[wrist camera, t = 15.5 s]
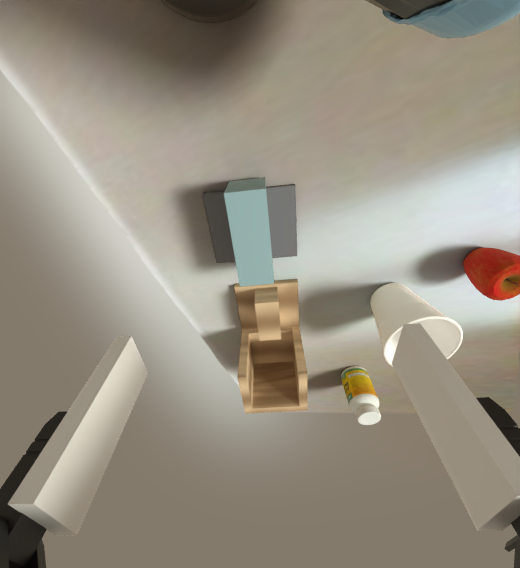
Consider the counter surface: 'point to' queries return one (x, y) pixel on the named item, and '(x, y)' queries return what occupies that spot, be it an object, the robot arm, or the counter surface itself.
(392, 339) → the cup
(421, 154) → the counter surface
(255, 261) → the bar
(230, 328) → the counter surface
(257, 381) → the cradle
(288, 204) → the mat
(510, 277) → the apple
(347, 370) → the supplement bottle
